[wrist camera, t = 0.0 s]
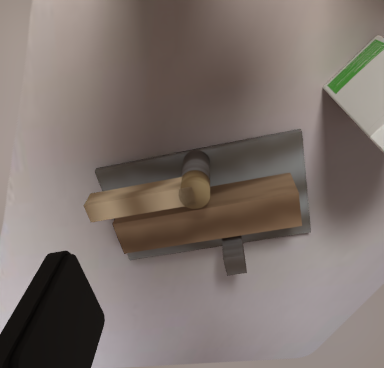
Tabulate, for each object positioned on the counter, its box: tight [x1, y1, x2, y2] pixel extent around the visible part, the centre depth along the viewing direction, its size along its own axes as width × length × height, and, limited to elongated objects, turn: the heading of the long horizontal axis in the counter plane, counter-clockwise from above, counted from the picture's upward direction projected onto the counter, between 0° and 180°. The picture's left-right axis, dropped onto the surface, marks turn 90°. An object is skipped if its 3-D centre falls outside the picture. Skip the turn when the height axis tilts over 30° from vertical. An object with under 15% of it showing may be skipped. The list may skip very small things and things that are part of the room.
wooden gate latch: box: [95, 129, 311, 276], centre depth 49 cm, size 16×28×9 cm, turn 103°
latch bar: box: [84, 170, 210, 222], centre depth 44 cm, size 15×4×3 cm, turn 103°
